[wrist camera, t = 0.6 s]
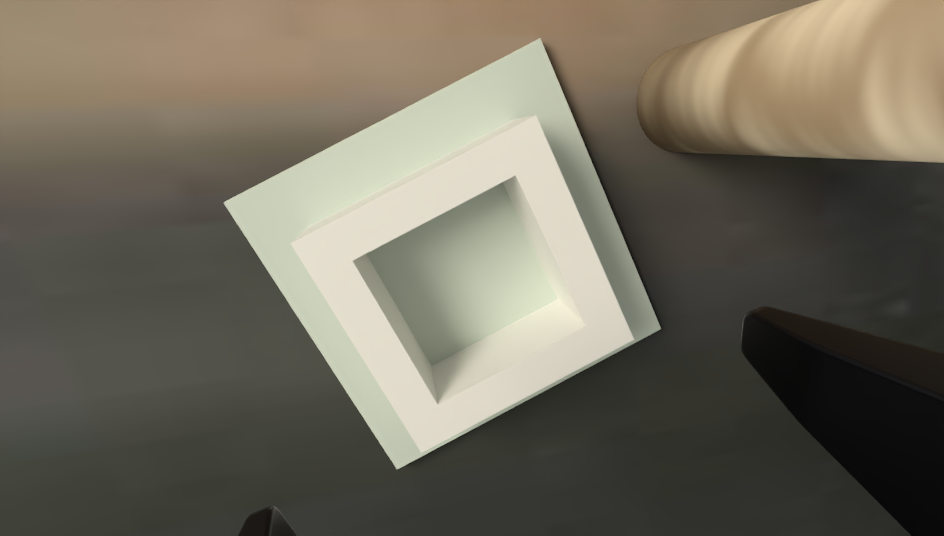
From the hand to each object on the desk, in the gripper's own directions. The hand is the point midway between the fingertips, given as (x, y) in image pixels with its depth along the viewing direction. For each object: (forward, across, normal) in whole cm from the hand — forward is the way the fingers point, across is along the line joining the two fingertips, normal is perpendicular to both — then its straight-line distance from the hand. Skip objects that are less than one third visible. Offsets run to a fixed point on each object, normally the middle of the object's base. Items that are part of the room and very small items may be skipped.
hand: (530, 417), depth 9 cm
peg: (+13, -13, 0) cm, 18 cm away
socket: (+13, -2, +5) cm, 14 cm away
